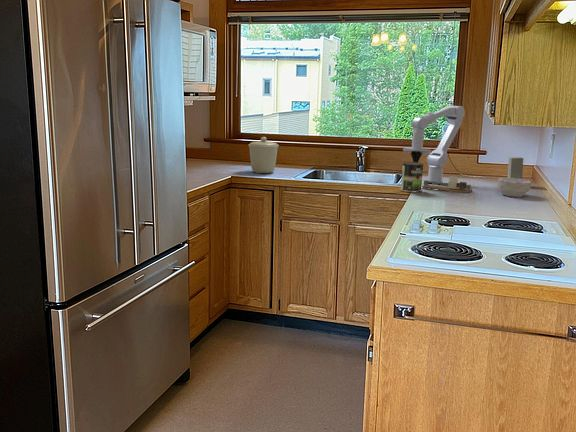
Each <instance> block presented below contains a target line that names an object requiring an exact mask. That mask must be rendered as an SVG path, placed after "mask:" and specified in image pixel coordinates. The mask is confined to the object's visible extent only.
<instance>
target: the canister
mask: <svg viewBox="0 0 576 432" xmlns="http://www.w3.org/2000/svg"><path fill="white" fill-rule="evenodd" d="M267 139H268V138H267V137H266V136H261V137H260V141H251V142H250V143H249V144H248V145H247V146H248V147H249V159H250V167H251V170H252V172H253V173H255V172H256V174H261V173H267V174H272V173H274V171H275V168H276V163H277V155H278V149H279V146H280V145H279V144H278V143H277V142H274V141H267Z"/></svg>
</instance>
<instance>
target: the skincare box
mask: <svg viewBox="0 0 576 432" xmlns="http://www.w3.org/2000/svg"><path fill="white" fill-rule="evenodd" d="M523 170H524V157H521V156H508V164H507V178H516V179H523V173H524V172H523Z"/></svg>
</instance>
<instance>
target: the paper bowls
mask: <svg viewBox="0 0 576 432" xmlns="http://www.w3.org/2000/svg"><path fill="white" fill-rule="evenodd" d="M531 185H532V182H531V181H530V180H527V179H523V178H522V179H516V178H508V177H499V178H498V182H497V189H500V193H501V194H502V195H503V196H506V197H510V198H511V197H515V198H521V197H525V194H527V193H530V192H531Z"/></svg>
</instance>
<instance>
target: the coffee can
mask: <svg viewBox="0 0 576 432" xmlns="http://www.w3.org/2000/svg"><path fill="white" fill-rule="evenodd" d="M423 170H424V163H422V162H418V163H417V162H413V161H405V162H402V171H401V182H400V183H401V186H400V191H401V192H406V193H414V192H413V191H420V190H421V191H422V189H421V187H422V182H423V173H424V171H423Z"/></svg>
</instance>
